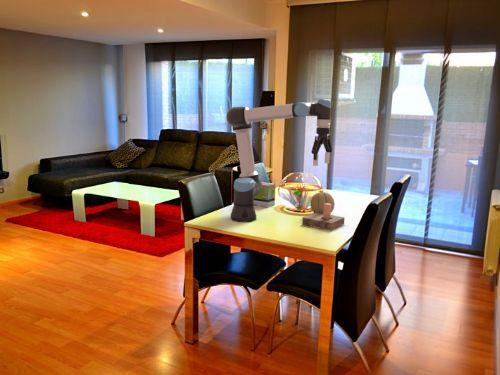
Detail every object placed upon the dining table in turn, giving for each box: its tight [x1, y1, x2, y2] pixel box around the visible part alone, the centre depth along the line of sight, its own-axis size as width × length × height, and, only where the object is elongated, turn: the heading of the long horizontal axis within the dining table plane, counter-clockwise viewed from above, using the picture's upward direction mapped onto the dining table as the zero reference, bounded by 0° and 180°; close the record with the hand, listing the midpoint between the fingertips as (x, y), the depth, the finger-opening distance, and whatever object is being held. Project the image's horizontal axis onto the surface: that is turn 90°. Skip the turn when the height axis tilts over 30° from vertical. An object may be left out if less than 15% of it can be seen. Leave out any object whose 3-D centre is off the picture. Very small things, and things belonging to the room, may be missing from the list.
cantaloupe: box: [309, 190, 336, 213], centre depth 262 cm, size 15×15×15 cm
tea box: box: [254, 181, 276, 208], centre depth 287 cm, size 15×10×15 cm
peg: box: [323, 203, 332, 220], centre depth 242 cm, size 4×4×12 cm
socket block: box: [301, 212, 346, 231], centre depth 244 cm, size 18×16×4 cm
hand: (321, 164), depth 248 cm, fingers open, 13 cm apart
